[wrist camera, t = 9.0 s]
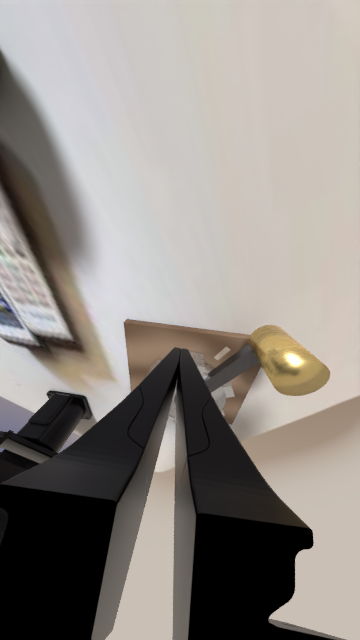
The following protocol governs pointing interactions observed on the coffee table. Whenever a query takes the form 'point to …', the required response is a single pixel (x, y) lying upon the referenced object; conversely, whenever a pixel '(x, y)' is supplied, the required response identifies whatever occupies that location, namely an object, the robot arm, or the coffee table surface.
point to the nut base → (216, 346)
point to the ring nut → (263, 366)
